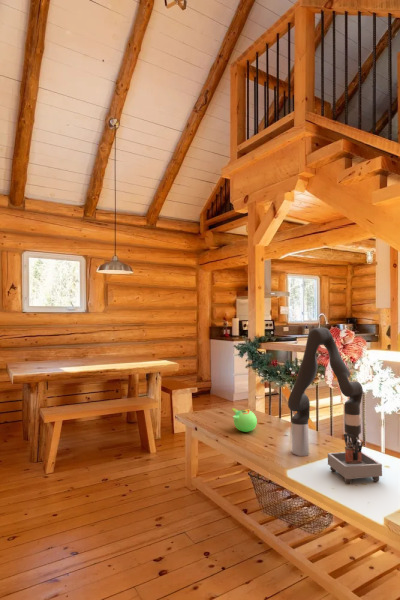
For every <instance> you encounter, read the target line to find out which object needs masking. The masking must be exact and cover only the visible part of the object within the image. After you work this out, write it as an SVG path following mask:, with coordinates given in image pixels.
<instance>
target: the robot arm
mask: <svg viewBox="0 0 400 600" xmlns="http://www.w3.org/2000/svg"><path fill="white" fill-rule="evenodd" d="M319 346H324V347H325V349H326V351H327V353H328V359H329V366H330V368H331V370H332V372H333V374H334V375H335V377H336V379H337V383H338V387H339V390H340V392H341V394H342V395H343V396H345V397H346V398H348V399H347V400H346V401H345V402H344V419H343V420H344V423H343V424H344V425H343V426H344V433H343V438H344V443H345V447H347V445H346V443H347V442H351V445H350V446H351V447H352V448H353V460H358V452H362V449H363V444H364V442H363V441H362V440H360V437H359V436H360V434H361V433H362V420H361V419H362V418H361V417H362V416H361V402H362V398H363V393H364V392H363V391H364V390H363V386H362V384H361V383H360V382H359V381H357V380H354V381H353V380H352V381H350V380H349V378H350V377H351V371H350V370H349V368H348V366H347V365H346V363H345V361H344V360H343V357H342V356H341V353H340V352H339V348H338V347H337V344H336V342H335V339H334V337H333V335H332V332H331V330H329V329H328V328H327V327H314V328H311V329H310V330H309V331H308V335H307V338H306V345H305V349H304V353H303V357H302V359H301V360H302V361H301V363H300V366H299V370H298V373H297V376H296V379H295V382H294V385H293V388H292V389H291V392H290V394H289V396H288V401H287V405H288V408H289V410H290V411H291V412H295V414H294V415H292V416H291V452H292V454H293V455H295V456H301V457H306V456H308V455H309V454H310V447H309V446H310V443H309V442H310V441H309V440H310V439H309V419H310V410H311V408H310V407H311V406H310V404H311V403H310V402H311V401H310V398H309V396H308V395H307V394H305V391H306V390H307V389H308V388H309V387H310V385H311V384H312V383H313V382H314V380H315V378H316V376H317V372H318V368H319V365H318V360H317V352H318V349H319ZM355 447H356V448H355Z"/></svg>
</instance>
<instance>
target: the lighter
mask: <svg viewBox="0 0 400 600" xmlns="http://www.w3.org/2000/svg"><path fill="white" fill-rule="evenodd" d="M346 445H347V446H346ZM350 445H351V442H347V443H346V444H345V446H344V452H345V459H346V460H345V463H346V464H362V459H361V452H362V451H361V452H358V460H353V448H352V447H351V446H350ZM355 448H356V447H355Z"/></svg>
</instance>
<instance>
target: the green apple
mask: <svg viewBox="0 0 400 600" xmlns="http://www.w3.org/2000/svg"><path fill="white" fill-rule="evenodd" d="M231 409H232V411H233V413H234V415H233V416H232V419H233V424H234V426H235V428H236V429H237V430H238V431H240V432H242V433H248V432H252V431H254V429H255V428H256V427H257V423H258V419H257V416H256V414H255V413H254V412H253V411H252V410H250V408H248V409H240V410H238V409H237V408H235V407H231Z"/></svg>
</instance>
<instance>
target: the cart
mask: <svg viewBox="0 0 400 600" xmlns="http://www.w3.org/2000/svg"><path fill="white" fill-rule="evenodd" d="M361 459H362V464H346V463H345V460H346V459H345V451H341V452H327V465H329V469H330V471H331V472H334V473H335V472H337V473H338V474H339V475H341V476H342V477H343V478H344V482H345V483H346V484H347V485H351V484H352V483H353V479H365V478H371V479H372V480H373V481H374V482H375V483H376V482H379V481H380V477H382V476H383V468H382V467H383V463H381V462H379V461H378V460H376V459H374V458H373V457H372V456H369V455H368V454H366V453H365V452H363V451H361Z"/></svg>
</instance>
